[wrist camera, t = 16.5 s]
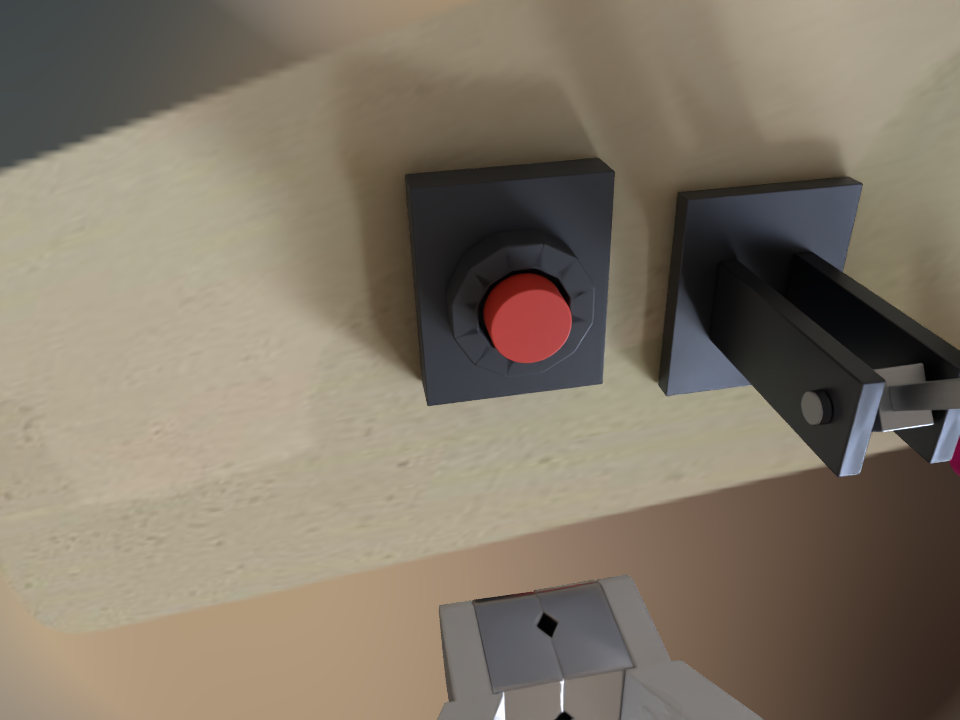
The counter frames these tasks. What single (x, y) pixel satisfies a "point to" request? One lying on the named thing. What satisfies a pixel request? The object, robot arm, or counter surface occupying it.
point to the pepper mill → (956, 459)
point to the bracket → (793, 317)
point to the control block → (508, 270)
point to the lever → (912, 398)
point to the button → (527, 318)
